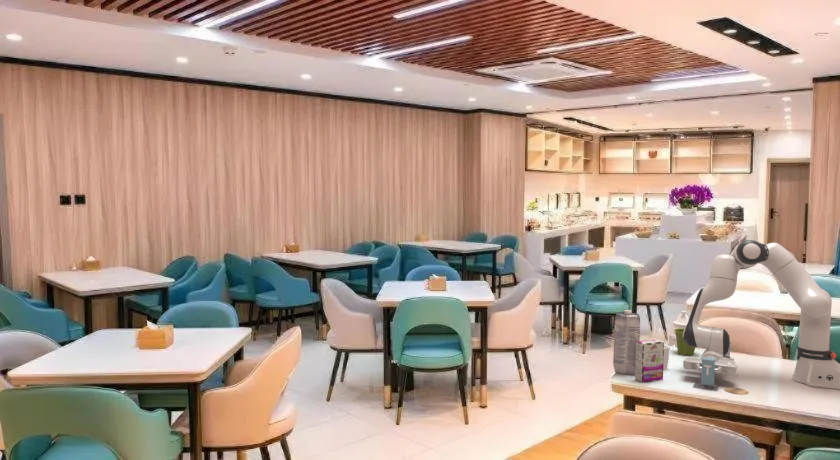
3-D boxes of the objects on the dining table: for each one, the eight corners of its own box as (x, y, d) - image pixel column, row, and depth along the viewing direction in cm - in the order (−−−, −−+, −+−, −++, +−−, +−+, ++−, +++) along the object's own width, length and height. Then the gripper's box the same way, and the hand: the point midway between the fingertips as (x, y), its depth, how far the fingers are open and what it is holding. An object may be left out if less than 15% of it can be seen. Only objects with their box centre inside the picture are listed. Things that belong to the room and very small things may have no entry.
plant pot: (697, 358, 310) (698, 334, 309) (671, 354, 316) (672, 331, 315) (700, 353, 320) (701, 330, 320) (675, 349, 326) (676, 327, 325)
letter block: (714, 382, 265) (715, 358, 264) (713, 385, 261) (714, 360, 260) (702, 380, 267) (702, 356, 266) (701, 383, 263) (701, 359, 262)
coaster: (749, 390, 261) (749, 389, 261) (748, 396, 253) (748, 395, 253) (724, 386, 265) (724, 386, 265) (722, 392, 257) (722, 391, 257)
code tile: (719, 386, 266) (719, 385, 266) (717, 392, 258) (717, 391, 258) (695, 382, 270) (695, 381, 270) (692, 388, 262) (692, 387, 262)
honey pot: (695, 349, 327) (697, 314, 326) (668, 346, 332) (670, 311, 331) (695, 343, 339) (696, 309, 338) (668, 341, 344) (670, 307, 343)
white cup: (650, 370, 288) (651, 347, 287) (649, 365, 296) (649, 343, 295) (669, 371, 286) (670, 349, 286) (667, 366, 294) (668, 345, 293)
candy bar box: (654, 376, 277) (656, 339, 276) (663, 380, 273) (665, 341, 272) (633, 379, 273) (635, 340, 272) (642, 382, 269) (643, 343, 268)
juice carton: (638, 376, 278) (640, 313, 276) (612, 373, 281) (614, 311, 279) (638, 370, 286) (640, 310, 284) (613, 368, 290) (615, 308, 288)
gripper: (685, 352, 280) (680, 359, 268) (737, 358, 270) (735, 366, 258) (684, 366, 280) (680, 374, 268) (737, 373, 271) (735, 381, 258)
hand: (708, 370), depth 263 cm, fingers closed on letter block, 4 cm apart
